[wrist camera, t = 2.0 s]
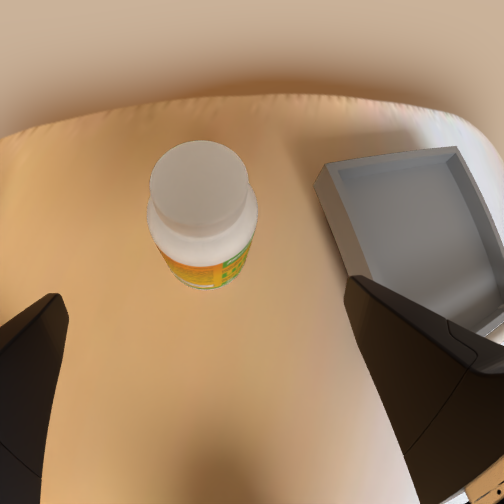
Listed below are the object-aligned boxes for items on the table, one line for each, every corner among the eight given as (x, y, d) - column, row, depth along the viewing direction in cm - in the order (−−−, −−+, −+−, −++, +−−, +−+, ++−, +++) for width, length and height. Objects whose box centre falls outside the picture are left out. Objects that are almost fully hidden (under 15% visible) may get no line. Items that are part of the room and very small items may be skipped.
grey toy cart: (483, 317, 22) (548, 301, 14) (369, 383, 20) (437, 394, 12) (427, 173, 25) (475, 126, 18) (305, 198, 23) (340, 135, 16)
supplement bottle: (230, 303, 20) (240, 265, 11) (154, 274, 20) (109, 217, 11) (256, 230, 22) (283, 148, 13) (185, 205, 22) (168, 114, 13)
